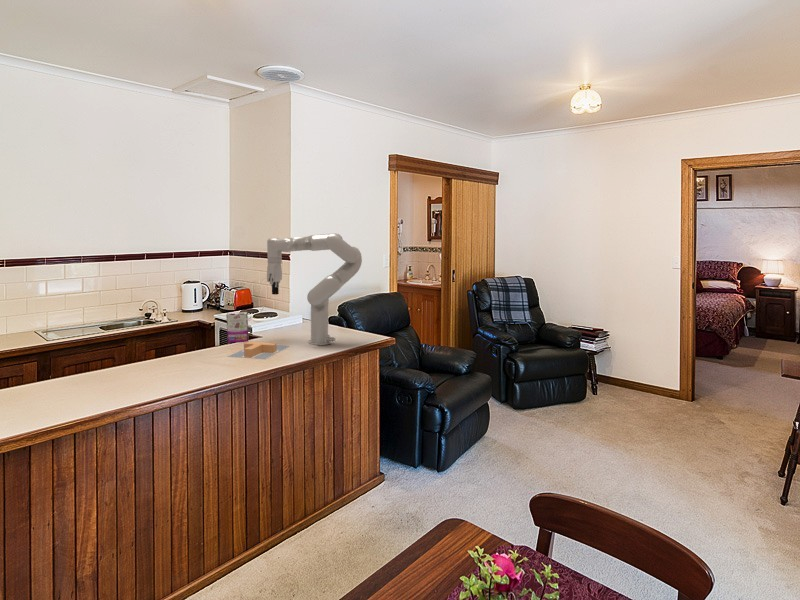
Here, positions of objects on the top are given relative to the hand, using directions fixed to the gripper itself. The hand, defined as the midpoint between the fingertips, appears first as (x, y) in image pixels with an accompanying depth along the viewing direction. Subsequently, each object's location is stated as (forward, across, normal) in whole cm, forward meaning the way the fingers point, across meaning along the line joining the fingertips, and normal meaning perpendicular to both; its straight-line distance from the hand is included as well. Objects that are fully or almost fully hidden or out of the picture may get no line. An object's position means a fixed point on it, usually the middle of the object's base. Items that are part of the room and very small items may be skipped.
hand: (275, 294), depth 285 cm
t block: (+27, +29, +2) cm, 39 cm away
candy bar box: (+27, +4, -21) cm, 35 cm away
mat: (+27, +23, +2) cm, 36 cm away
